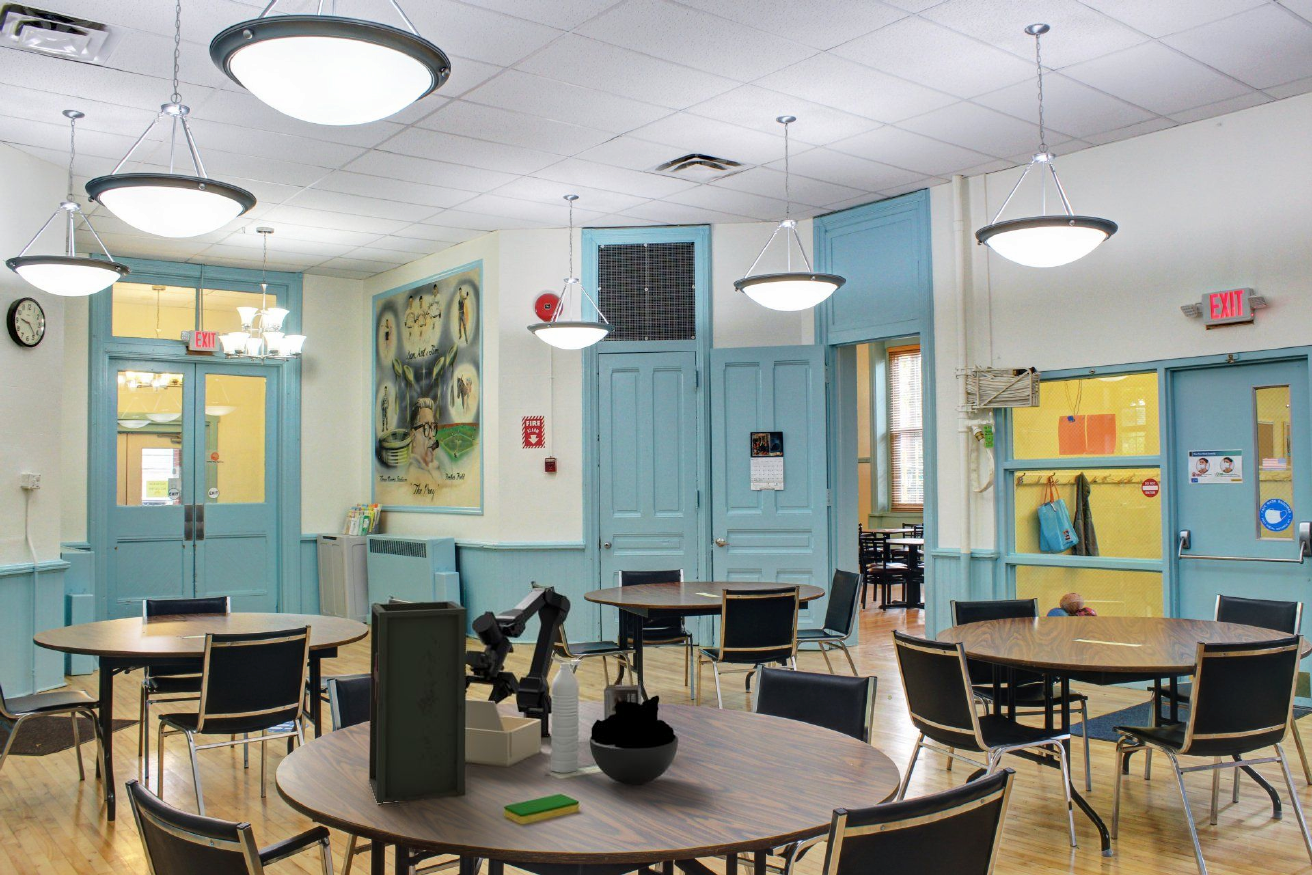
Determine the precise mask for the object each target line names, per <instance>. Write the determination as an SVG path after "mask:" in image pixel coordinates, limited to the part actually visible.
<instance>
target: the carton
mask: <svg viewBox="0 0 1312 875" xmlns="http://www.w3.org/2000/svg"><path fill="white" fill-rule="evenodd" d="M500 718H501V720H502V723H503V726H504V729H505V731H497V730H487V729H477V728H467V727H465V763H471V764H478V765H479V764H481V765H489V766H490V765H491V766H497V767H506V768H507V767H510V766H513V765H514V764H517V763H520V762H521V761H523V760H525V759H528V758H530V757H532V756H534V755H536V754H538V753H541V752H542V747H541V746H542V737H541V719H531V718H523V717H519V716H508V715H500Z"/></svg>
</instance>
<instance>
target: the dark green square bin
mask: <svg viewBox="0 0 1312 875" xmlns="http://www.w3.org/2000/svg"><path fill="white" fill-rule="evenodd" d="M370 607H371V610H370V611H371V615H370V616H371V617H370V618H371V619H370V620H371V622H370V623H371V625H370V626H371V627H370V628H371V631H370V687H369V688H370V696H369V701H370V702H369V706H370V707H369V756H368V757H369V758H368V760H369V761H368V762H369V768H368V770H369V773H368V782H370V783H369V785H370V784H371V786H370V788H371V787H372V789H371V791H372V790H373V792H372V794H373V793H374V795H373V797H374V796H375V798H374V800H375V799H376V801H377V803H383V802H395V801H406V802H414V801H421V800H422V799H425V800H432V799H433V800H434V799H442V798H443V797H444V798H452V797H462V796H466V762H465V721H466V699H467V697H466V695H467V693H466V690H467V689H466V673H467V664H466V652H467V608H466V607H464V606H462V605H460V604H458V603H456V602H455V601H453V600H451V601H449V600H448V601H447V600H446V601H421V602H419V601H418V602H397V603H396V602H395V603H392V602H391V603H372V604H371V606H370ZM376 801H375V802H376ZM377 803H376V804H377Z"/></svg>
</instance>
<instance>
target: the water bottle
mask: <svg viewBox="0 0 1312 875" xmlns="http://www.w3.org/2000/svg"><path fill="white" fill-rule="evenodd" d="M571 665H573V666H578V665H579V666H580V665H582V659H571V660H570V662H560V666H559V670H558V672H557V673H556V674H555V676H554V678H553V679H552V682H551V685H550V686H551V687H550V688H551V689H550V690H551V698H552V713H551V718H550V719H551V720H550V721H551V722H550V723H551V733H550V737H551V743H550V744H551V751H550V752H551V754H550V755H551V756H550V757H551V761H550V762H551V763H550V768H551V771H552V772H555V773H563V774H567V773H574V772H576V771H578V770H579V765H580V759H579V754H580V753H579V752H580V750H579V748H580V744H579V739H580V734H579V731H580V729H579V727H580V726H579V722H580V720H579V719H580V718H579V714H580V713H579V703H580V702H579V689H580V687H579V686H580V684H579V683H580V682H579V680H578V679H577V676H576V675H575V674H574V672H573V671H572V669H571V667H572V666H571Z"/></svg>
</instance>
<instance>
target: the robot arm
mask: <svg viewBox="0 0 1312 875" xmlns="http://www.w3.org/2000/svg"><path fill="white" fill-rule="evenodd" d="M570 610H571V601H570V599H568V597H567V596H566V595H563V594H560V593H557V592H555V591H553V590H552V589H550V588H547V587H535V588H532V589H531V590H530V593H529V594H527V595H526V596H525V598H523V599H522V600H521V601H520V602H519V603H518V604H517V605H515V606H514V607H513V608H512V609H510V610H506V611H502V612H501V613H499V614H497V615H496V616H495V613H494V612H493V611H490V610H486V611H485V612H484V614H481V615H480V616H478V617H477V618H475V619H474V620H473V621H472V623H471V628H472V630H473V632H474V633H475V635H476V637H477V638H478V639H479V642H480V643H481V644H482V645H483V646H485V648H484V650H483V651H482V650H468V649H466V665H468V666H470V668H469V671H471V672H473V673H472V674H468V673H467V672H466V694H467V693H468V690H467V689H469V687H470V685H471V684H477V685H478V684H479V685H480V684H481V685H487V686H492V690H491V693H489V696H488V699H487V701H495V704H496V706H497V705H499V703H501V702H502V701H504V700H506V699H507V698H508V697H512V695H515V701H516V702H515V703H516V706H517V711H518V713H523V716H522V718H531V719H541V738H544V737H546V738H547V737H551V733H550V731H549V730H550V729H549V727H550V726H549V724H550V720H549V718H550V717H549V716H550V715H552V696H551V695H550V690H551V689H550V688H551V687H550V684H549V682H548V679H547V677H548V673H549V668H550V665H551V660H552V655H553V653H554V652H553V651H554V648H555V643H556V639H557V635H558V632H559V631H558V630H559V628H560V627H561V626H562V625H563V623H564V622H566V620H567V618H568V615H569V612H570ZM536 613H537V615H538V618H539V620H540V628H539V632H538V635H537V639H536V643H535V647H534V651H533V656H532V659H531V664H530V668H529V672H528V674H527V675H526V676H521V677H520V679H519V680H518V679H517V677H516V676H515V674H514V672H513V671H504V670H505V666H504V662H505V660H506V658H507V655H509V654H513V653H514V651H515V648H514V647H513V643H512V642H511V641H510V639H518V638H520V637H521V636H522V634H523V633H524V631H525V630H526V627H527V626H526V623H527V622H528V621H529V620H530V619H531V618H532V617H533V616H534V615H535V614H536Z"/></svg>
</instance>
